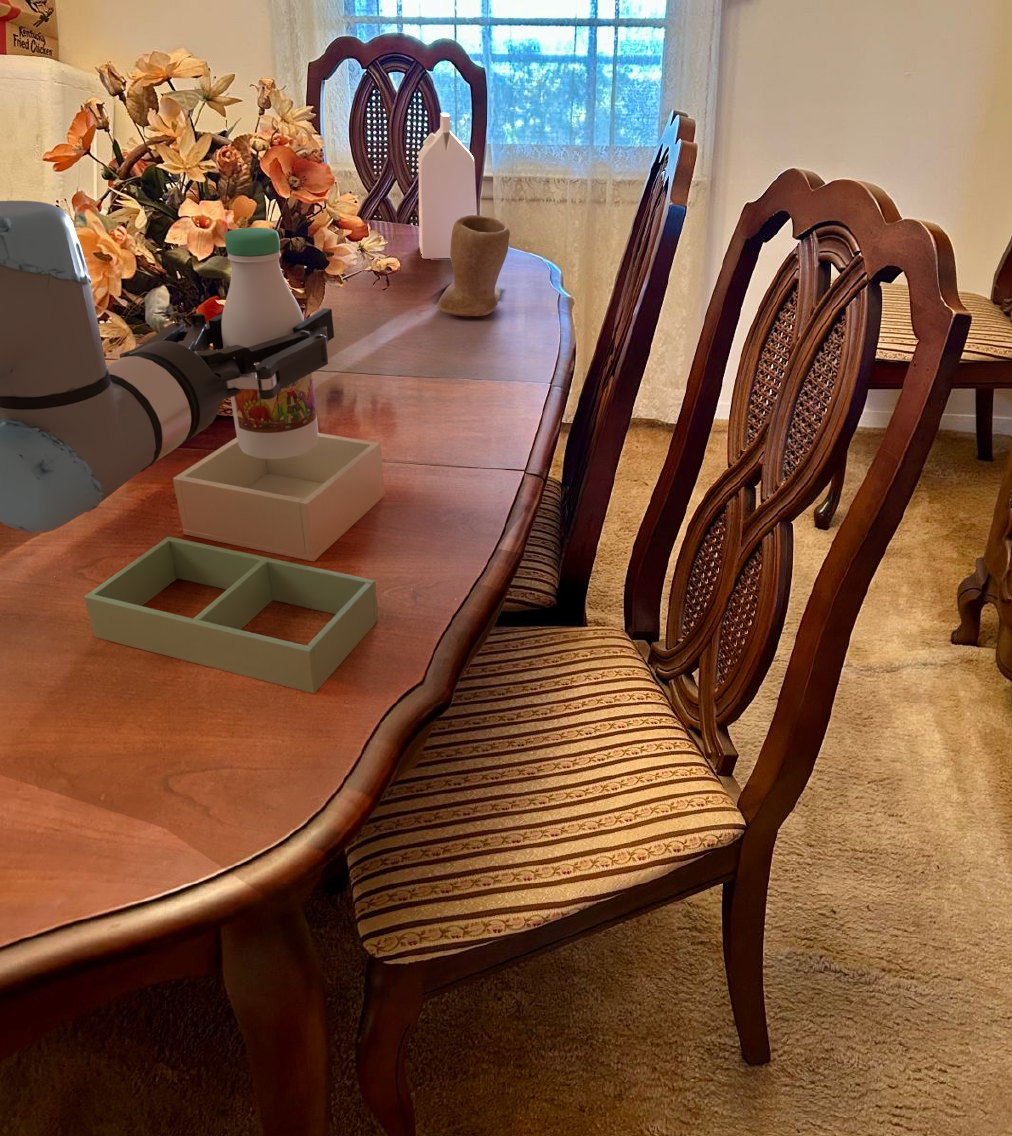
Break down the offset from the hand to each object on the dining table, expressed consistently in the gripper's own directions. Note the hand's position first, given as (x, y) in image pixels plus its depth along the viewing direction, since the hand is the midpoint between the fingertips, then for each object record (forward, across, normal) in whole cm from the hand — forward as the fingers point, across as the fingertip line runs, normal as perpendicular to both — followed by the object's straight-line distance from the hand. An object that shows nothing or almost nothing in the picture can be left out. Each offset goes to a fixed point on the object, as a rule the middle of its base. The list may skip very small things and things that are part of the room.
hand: (288, 319), depth 89 cm
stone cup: (+72, -4, -19) cm, 74 cm away
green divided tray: (-24, +5, -19) cm, 31 cm away
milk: (+110, -21, -18) cm, 114 cm away
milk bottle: (-5, 0, -11) cm, 12 cm away
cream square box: (-5, 0, -19) cm, 19 cm away
